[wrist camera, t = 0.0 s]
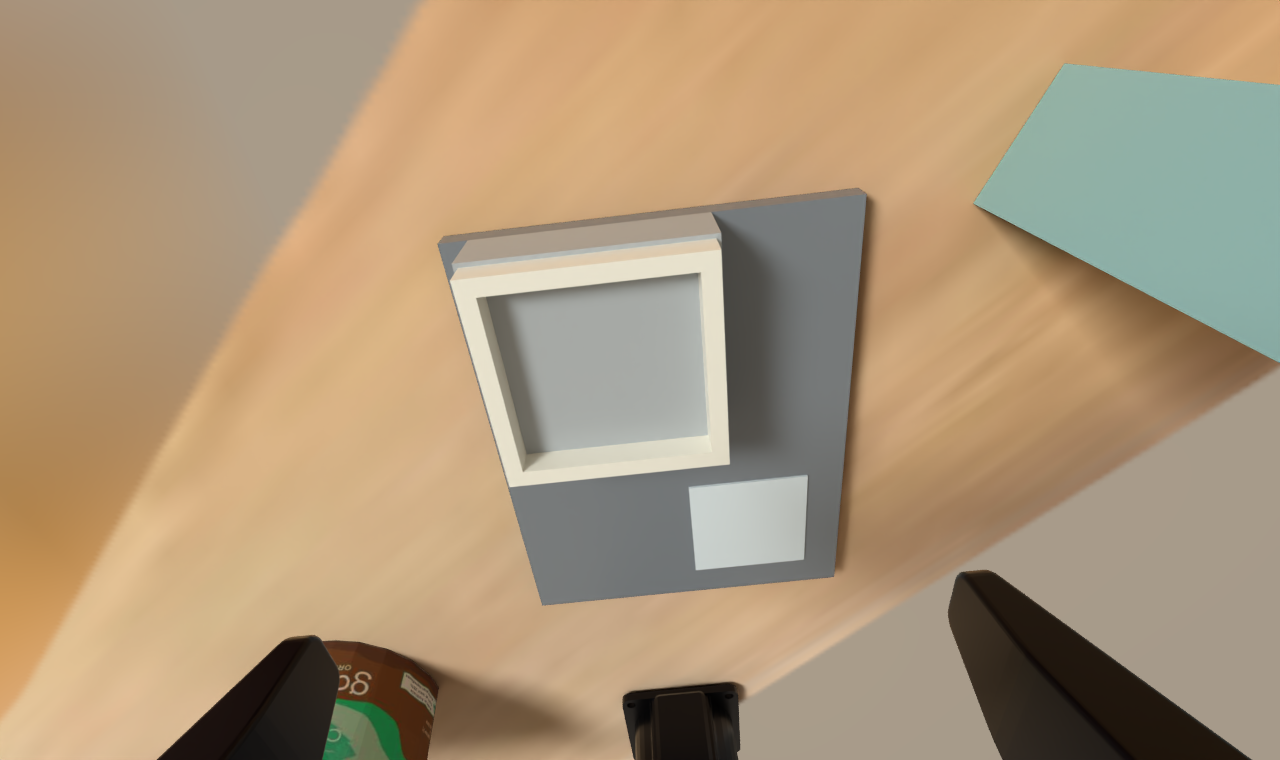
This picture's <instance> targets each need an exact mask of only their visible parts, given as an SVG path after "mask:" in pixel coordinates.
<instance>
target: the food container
mask: <svg viewBox="0 0 1280 760" xmlns="http://www.w3.org/2000/svg"><path fill="white" fill-rule="evenodd" d="M322 642H323V643H324V645H325V647H326V648H327V650H328V652H329V653H330V655H331V657H332V658H333V660H334V662H335V663H336V665H337V667H338V669H339V674H340V684H339V689H338V694H337V698H336V703H335V707H334V711H333V716H332V720H331V725H330V729H329V733H328V738H327V742H326V747H325V751H324V755H323V760H427V756H428V750H429V744H430V738H431V732H432V726H433V720H434V714H435V708H436V702H437V696H438V689H439V688H438V686H437V685H436V683H435V682H434V680H433V679H432V677H431V676H430V675H429V674H428V673H426V672H425V671H424V670H423V669H422V668H420V667H419V666H418V665H417V664H415V663H414V662H413V661H411V660H409V659H407V658H405V657H403V656H401V655H399V654H397V653H394V652H392V651H390V650H388V649H385V648H381V647H377V646H373V645H369V644H365V643H361V642H350V641H322Z"/></svg>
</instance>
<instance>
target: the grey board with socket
mask: <svg viewBox="0 0 1280 760" xmlns="http://www.w3.org/2000/svg"><path fill="white" fill-rule="evenodd" d="M866 196H867V194H866V193H865V192H863V191H862V190H860V189H859V188H854V189H845V190H837V191H828V192H820V193H811V194H803V195H794V196H785V197H777V198H768V199H760V200H751V201H743V202H734V203H725V204H717V205H708V206H700V207H691V208H683V209H674V210H665V211H657V212H648V213H640V214H631V215H623V216H614V217H605V218H597V219H588V220H580V221H571V222H563V223H554V224H546V225H537V226H528V227H520V228H511V229H503V230H494V231H486V232H477V233H468V234H460V235H451V236H443V238H442V239H441V240H440V241H439V243H438V247H439V251H440V254H441V258H442V261H443V265H444V268H445V272H446V275H447V278H448V282H449V285H450V289H451V292H452V296H453V299H454V303H455V306H456V309H457V313H458V316H459V320H460V323H461V327H462V330H463V334H464V337H465V341H466V344H467V347H468V351H469V354H470V358H471V361H472V365H473V368H474V372H475V375H476V378H477V382H478V385H479V389H480V392H481V396H482V399H483V403H484V406H485V409H486V413H487V416H488V420H489V423H490V427H491V430H492V434H493V437H494V441H495V444H496V447H497V451H498V454H499V458H500V461H501V465H502V468H503V472H504V475H505V478H506V482H507V485H508V489H509V492H510V496H511V499H512V503H513V506H514V509H515V513H516V516H517V520H518V523H519V527H520V530H521V534H522V537H523V541H524V544H525V547H526V551H527V554H528V558H529V561H530V565H531V568H532V572H533V575H534V578H535V582H536V585H537V589H538V592H539V596H540V599H541V603H542V606H543V605H553V604H563V603H573V602H583V601H594V600H604V599H614V598H624V597H634V596H645V595H655V594H665V593H675V592H685V591H696V590H706V589H716V588H726V587H737V586H747V585H757V584H767V583H777V582H788V581H798V580H808V579H818V578H828V577H834V572H835V560H836V548H837V536H838V525H839V513H840V501H841V489H842V478H843V466H844V454H845V442H846V431H847V419H848V407H849V395H850V384H851V372H852V360H853V348H854V337H855V325H856V313H857V301H858V290H859V278H860V266H861V254H862V243H863V231H864V219H865V207H866Z"/></svg>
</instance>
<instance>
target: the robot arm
mask: <svg viewBox="0 0 1280 760" xmlns="http://www.w3.org/2000/svg"><path fill="white" fill-rule="evenodd" d="M948 618H949V624H950V627H951V630H952V633H953V635H954V638H955V641H956V643H957V646H958V649H959V651H960V654H961V657H962V659H963V662H964V664H965V667H966V670H967V672H968V675H969V678H970V680H971V683H972V686H973V688H974V691H975V694H976V696H977V699H978V702H979V704H980V707H981V710H982V712H983V715H984V717H985V720H986V723H987V725H988V728H989V730H990V732H991V735H992V738H993V740H994V742H995V744H996V746H997V749H998V751H999V753H1000V755H1001V757H1002V759H1003V760H1251V759H1250V758H1249V757H1247V756H1246V755H1244V754H1243V753H1242V752H1240V751H1239V750H1238V749H1236V748H1235V747H1234V746H1232V745H1231V744H1229V743H1228V742H1227V741H1225V740H1224V739H1223V738H1221V737H1220V736H1218V735H1217V734H1216V733H1214V732H1213V731H1212V730H1210V729H1209V728H1208V727H1206V726H1205V725H1203V724H1202V723H1201V722H1199V721H1198V720H1196V719H1195V718H1194V717H1192V716H1191V715H1190V714H1188V713H1187V712H1186V711H1184V710H1183V709H1181V708H1180V707H1179V706H1177V705H1176V704H1174V703H1173V702H1172V701H1170V700H1169V699H1168V698H1166V697H1165V696H1163V695H1162V694H1161V693H1159V692H1158V691H1157V690H1155V689H1154V688H1152V687H1151V686H1150V685H1148V684H1147V683H1146V682H1144V681H1143V680H1141V679H1140V678H1139V677H1137V676H1136V675H1135V674H1133V673H1132V672H1130V671H1129V670H1128V669H1126V668H1125V667H1124V666H1122V665H1121V664H1120V663H1118V662H1117V661H1115V660H1114V659H1113V658H1111V657H1110V656H1108V655H1107V654H1106V653H1104V652H1103V651H1102V650H1100V649H1099V648H1098V647H1096V646H1095V645H1093V644H1092V643H1090V642H1089V641H1088V640H1087V639H1085V638H1084V637H1082V636H1081V635H1080V634H1078V633H1077V632H1076V631H1074V630H1073V629H1071V628H1070V627H1069V626H1067V625H1066V624H1065V623H1063V622H1062V621H1060V620H1059V619H1058V618H1056V617H1055V616H1054V615H1052V614H1051V613H1049V612H1048V611H1047V610H1045V609H1044V608H1042V607H1041V606H1040V605H1038V604H1037V603H1036V602H1034V601H1033V600H1032V599H1030V598H1029V597H1027V596H1026V595H1025V594H1023V593H1022V592H1021V591H1019V590H1018V589H1016V588H1015V587H1014V586H1012V585H1011V584H1010V583H1008V582H1007V581H1005V580H1004V579H1003V578H1001V577H1000V576H998V575H997V574H996V573H994V572H991V571H989V570H977V571H966V572H961V573H960V574H959V575H957V577H956V580H955V584H954V588H953V592H952V596H951V600H950V604H949V609H948ZM339 684H340V674H339V669H338V667H337V665H336V663H335V662H334V660H333V658H332V657H331V655H330V653H329V652H328V650H327V648H326V647H325V645H324V643H323V642H322V640H321V639H320V638H319V637H317V636H315V635H307V636H297V637H290V638H287V639H285V640H284V641H282V642H281V643H280V644H279V645H277V646H276V647H275V648H274V649H273V650H272V651H271V652H270V653H269V654H268V655H267V656H266V657H265V658H264V659H263V660H262V661H261V662H259V663H258V664H257V665H256V666H255V667H254V668H253V669H252V670H251V671H250V672H249V673H248V674H247V675H246V676H245V677H244V678H243V679H242V680H240V681H239V682H238V683H237V684H236V685H235V686H234V687H233V688H232V689H231V690H230V691H229V692H228V693H227V694H226V695H225V696H224V697H223V698H221V699H220V700H219V701H218V702H217V703H216V704H215V705H214V706H213V707H212V708H211V709H210V710H209V711H208V712H207V713H206V714H205V715H203V716H202V717H201V718H200V719H199V720H198V721H197V722H196V723H195V724H194V725H193V726H192V727H191V728H190V729H189V730H188V731H187V732H186V733H184V734H183V735H182V736H181V737H180V738H179V739H178V740H177V741H176V742H175V743H174V744H173V745H172V746H171V747H170V748H169V749H168V750H167V751H165V752H164V753H163V754H162V755H161V756H160V757H159V758H158V759H157V760H323V755H324V751H325V747H326V742H327V738H328V733H329V729H330V725H331V720H332V716H333V711H334V707H335V703H336V698H337V694H338V689H339ZM623 711H624V715H625V720H626V725H627V729H628V734H629V739H630V743H631V748H632V753H633V757H634V759H635V760H738V756H737V752H738V751H739V750H740V731H739V706H738V692H737V688H736V686H734V685H732V684H725V685H714V686H704V687H693V688H682V689H671V690H661V691H650V692H639V693H629V694H626V695H624V696H623Z"/></svg>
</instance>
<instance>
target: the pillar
mask: <svg viewBox="0 0 1280 760" xmlns="http://www.w3.org/2000/svg"><path fill="white" fill-rule="evenodd" d="M973 204H975V205H977V206H979V207H981V208H983V209H985V210H987V211H989V212H991V213H992V214H994V215H996V216H998V217H1000V218H1002V219H1004V220H1006V221H1008V222H1010V223H1012V224H1014V225H1016V226H1017V227H1019V228H1021V229H1023V230H1025V231H1027V232H1029V233H1031V234H1033V235H1035V236H1037V237H1039V238H1041V239H1042V240H1044V241H1046V242H1048V243H1050V244H1052V245H1054V246H1056V247H1058V248H1060V249H1062V250H1064V251H1066V252H1067V253H1069V254H1071V255H1073V256H1075V257H1077V258H1079V259H1081V260H1083V261H1085V262H1087V263H1089V264H1090V265H1092V266H1094V267H1096V268H1098V269H1100V270H1102V271H1104V272H1106V273H1108V274H1110V275H1112V276H1114V277H1115V278H1117V279H1119V280H1121V281H1123V282H1125V283H1127V284H1129V285H1131V286H1133V287H1135V288H1137V289H1139V290H1140V291H1142V292H1144V293H1146V294H1148V295H1150V296H1152V297H1154V298H1156V299H1158V300H1160V301H1162V302H1164V303H1165V304H1167V305H1169V306H1171V307H1173V308H1175V309H1177V310H1179V311H1181V312H1183V313H1185V314H1187V315H1189V316H1190V317H1192V318H1194V319H1196V320H1198V321H1200V322H1202V323H1204V324H1206V325H1208V326H1210V327H1212V328H1214V329H1215V330H1217V331H1219V332H1221V333H1223V334H1225V335H1227V336H1229V337H1231V338H1233V339H1235V340H1237V341H1238V342H1240V343H1242V344H1244V345H1246V346H1248V347H1250V348H1252V349H1254V350H1256V351H1258V352H1260V353H1262V354H1263V355H1265V356H1267V357H1269V358H1271V359H1273V360H1275V361H1277V362H1279V363H1280V85H1274V84H1264V83H1254V82H1244V81H1234V80H1224V79H1214V78H1204V77H1194V76H1184V75H1174V74H1164V73H1154V72H1144V71H1134V70H1124V69H1114V68H1104V67H1094V66H1084V65H1074V64H1064V65H1063V67H1062V68H1061V70H1060V71H1059V73H1058V74H1057V76H1056V77H1055V79H1054V80H1053V82H1052V83H1051V85H1050V87H1049V88H1048V90H1047V91H1046V93H1045V94H1044V96H1043V97H1042V99H1041V100H1040V102H1039V103H1038V105H1037V106H1036V108H1035V110H1034V111H1033V113H1032V114H1031V116H1030V117H1029V119H1028V120H1027V122H1026V123H1025V125H1024V126H1023V128H1022V130H1021V131H1020V133H1019V134H1018V136H1017V137H1016V139H1015V140H1014V142H1013V143H1012V145H1011V146H1010V148H1009V149H1008V151H1007V153H1006V154H1005V156H1004V157H1003V159H1002V160H1001V162H1000V163H999V165H998V166H997V168H996V169H995V171H994V172H993V174H992V176H991V177H990V179H989V180H988V182H987V183H986V185H985V186H984V188H983V189H982V191H981V192H980V194H979V195H978V197H977V199H976V200H975V202H974V203H973Z"/></svg>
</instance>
